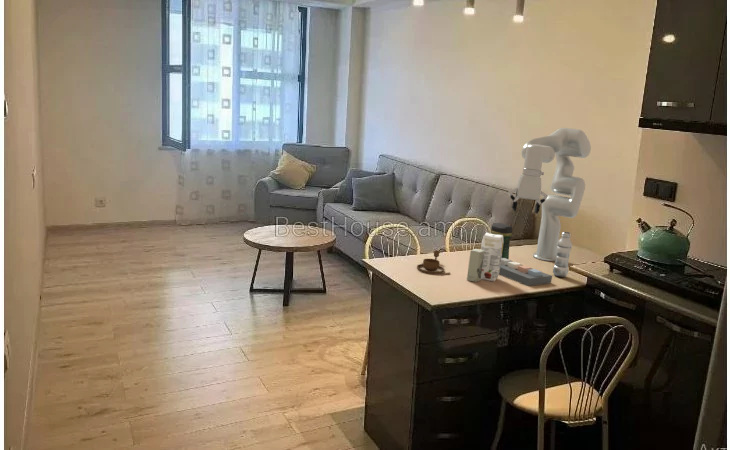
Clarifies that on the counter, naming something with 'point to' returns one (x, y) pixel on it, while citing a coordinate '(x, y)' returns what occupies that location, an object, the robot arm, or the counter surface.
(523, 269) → the key
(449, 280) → the counter surface
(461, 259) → the counter surface
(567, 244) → the plastic bottle
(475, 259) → the box
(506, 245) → the coffee jar
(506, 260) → the key
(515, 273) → the keypad
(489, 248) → the juice carton
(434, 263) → the brown cup and saucer
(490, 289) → the counter surface
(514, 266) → the key
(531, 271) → the key
